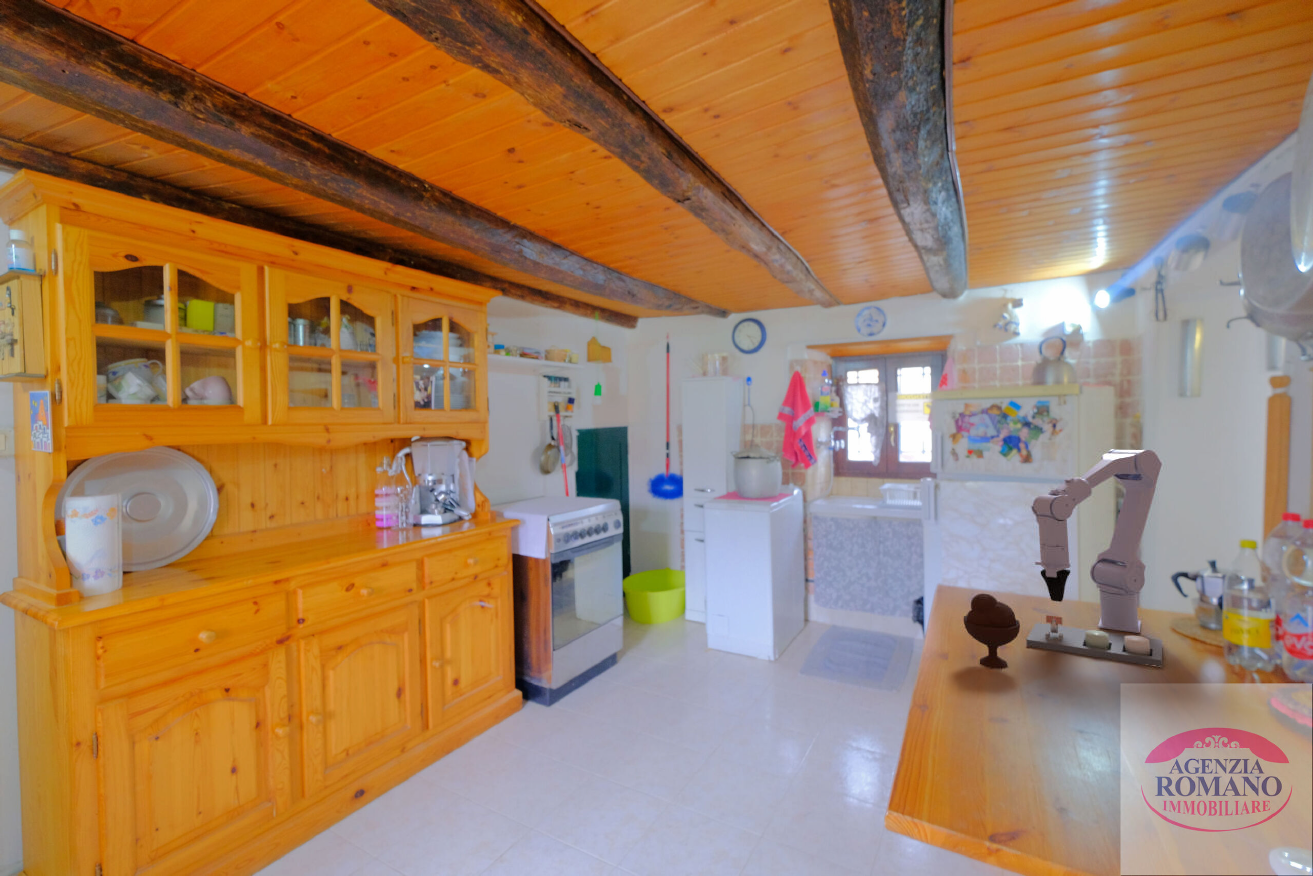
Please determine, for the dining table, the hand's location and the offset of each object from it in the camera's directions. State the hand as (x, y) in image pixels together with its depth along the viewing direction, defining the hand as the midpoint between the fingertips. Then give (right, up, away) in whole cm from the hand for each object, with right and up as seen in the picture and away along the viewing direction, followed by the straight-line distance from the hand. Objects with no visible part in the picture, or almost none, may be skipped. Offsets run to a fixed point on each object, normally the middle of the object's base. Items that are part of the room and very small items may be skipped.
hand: (1057, 600), depth 143 cm
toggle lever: (-4, -7, -6) cm, 10 cm away
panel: (+3, -8, -8) cm, 12 cm away
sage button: (+2, -7, -11) cm, 13 cm away
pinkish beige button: (+7, -7, -15) cm, 18 cm away
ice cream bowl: (-23, -10, -14) cm, 29 cm away
